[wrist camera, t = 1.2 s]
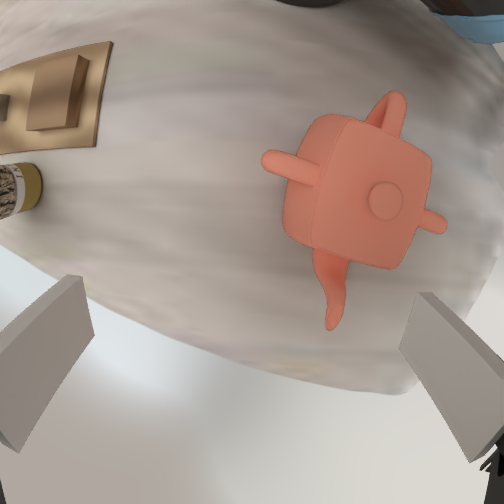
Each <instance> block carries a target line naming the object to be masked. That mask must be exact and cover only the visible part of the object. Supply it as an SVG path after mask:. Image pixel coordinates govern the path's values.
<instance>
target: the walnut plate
mask: <svg viewBox="0 0 504 504" xmlns="http://www.w3.org/2000/svg"><path fill="white" fill-rule="evenodd" d="M89 61H90V60H88V59H86V58H84V57H82V56H81V55H79V54H77V55H73V56H68V57H64V58H60V59H56V60H52V61H48V62H45V63H41V64H38V65H37V67H36V72H35V76H34V81H33V85H32V91H31V96H30V102H29V108H28V115H27V122H26V131H46V130H55V129H64V128H75V127H78V124H79V116H80V109H81V103H82V96H83V91H84V85H85V80H86V75H87V70H88V66H89Z"/></svg>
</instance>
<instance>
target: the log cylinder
mask: <svg viewBox="0 0 504 504" xmlns="http://www.w3.org/2000/svg"><path fill="white" fill-rule="evenodd" d="M40 194H41V178H40V174H39V172H38V170H37V169H36V167H35V166H34V165H32V164H31V163H27V162H25V163H16V164H6V165H0V220H1V219H4V218H6V217H9V216H12V215H15V214H17V213H20V212H23V211H26V210H29V209H31V208H32V207H34V206H35V204H36V203H37V201H38V199H39V197H40Z"/></svg>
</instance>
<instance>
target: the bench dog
mask: <svg viewBox="0 0 504 504" xmlns="http://www.w3.org/2000/svg"><path fill="white" fill-rule="evenodd" d="M9 99H10V95H6V94H0V122H3V121H6V119H7V112H8V105H9Z"/></svg>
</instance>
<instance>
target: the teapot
mask: <svg viewBox="0 0 504 504" xmlns="http://www.w3.org/2000/svg"><path fill="white" fill-rule="evenodd" d="M406 108H407V103H406V99H405V97H404V95H403V94H401V93H400V92H398V91H390V92H388V93H387V94H386V95H384V96H383V97H382V98H381V100H380V101H379V102H378V103H377V104H376V106H375V107H374V108H373V110H372V111H371V113H370V114H369V116H368V117H367V118H366V120H365V121H364V122H363V121H360V120H357V119H354V118H351V117H348V116H343V115H336V114H329V115H324V116H321V117H319V118H317V119H316V120H315V121H314V122H313V123H312V125H311V126H310V127H309V129H308V131H307V133H306V135H305V137H304V139H303V141H302V143H301V145H300V147H299V150H298V152H297V154H296V156H294V155H291V154H288V153H285V152H281V151H277V150H269V151H266V152H265V153H264V154H263V156H262V159H261V164H262V167H263V168H264V169H265V170H266V171H268V172H270V173H273V174H276V175H279V176H282V177H285V178H288V183H287V188H286V194H285V199H284V206H283V216H282V220H283V227H284V230H285V231H286V233H287V234H288V235H289V236H290V237H291V238H293V239H294V240H296V241H297V242H299V243H301V244H304V245H306V246H309V247H312V248H313V266H314V270H315V273H316V275H317V277H318V279H319V281H320V283H321V285H322V287H323V289H324V291H325V294H326V299H327V310H326V317H325V328H326V329H327V330H328V331H331V330H333V329H334V328H335V327H336V326H337V325H338V323H339V321H340V319H341V317H342V315H343V311H344V306H345V296H346V289H345V278H346V272H347V267H348V263H349V261H350V260H352V261H356V262H359V263H363V264H367V265H371V266H375V267H380V268H384V269H394V268H396V267H397V266H398V265H399V263H400V262H401V260H402V259H403V257H404V255H405V253H406V251H407V249H408V247H409V245H410V243H411V241H412V238H413V236H414V234H415V231H416V229H417V226H418V227H420V228H423V229H425V230H428V231H430V232H433V233H435V234H442V233H444V232H445V231H446V229H447V221H446V219H445V218H444V217H443V216H441V215H439V214H437V213H435V212H433V211H430V210H428V209H426V208H424V205H425V202H426V198H427V194H428V189H429V184H430V179H431V171H432V162H431V158H430V157H429V156H428V155H427V154H425V153H424V152H423V151H421V150H420V149H418V148H416V147H415V146H413V145H411V144H410V143H408V142H406V141H404V140H402V139H400V138H399V136H400V133H401V130H402V127H403V123H404V119H405V115H406Z"/></svg>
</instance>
